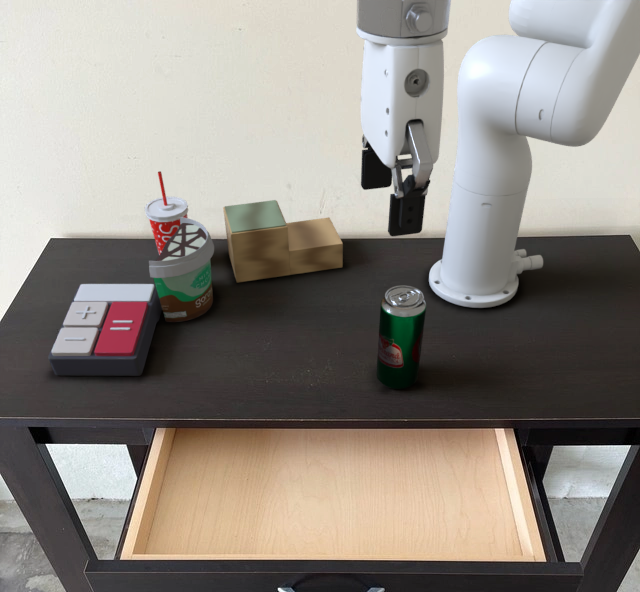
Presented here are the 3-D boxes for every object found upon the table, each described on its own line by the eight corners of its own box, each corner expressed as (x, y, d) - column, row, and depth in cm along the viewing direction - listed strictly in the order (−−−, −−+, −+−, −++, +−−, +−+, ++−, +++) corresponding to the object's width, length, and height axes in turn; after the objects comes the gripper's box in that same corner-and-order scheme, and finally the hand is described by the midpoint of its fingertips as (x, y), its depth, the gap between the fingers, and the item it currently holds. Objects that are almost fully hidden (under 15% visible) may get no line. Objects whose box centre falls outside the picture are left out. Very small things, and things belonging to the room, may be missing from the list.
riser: (329, 240, 104) (329, 192, 98) (342, 267, 98) (343, 217, 93) (229, 254, 101) (222, 205, 96) (236, 282, 96) (230, 232, 90)
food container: (205, 333, 88) (194, 268, 80) (161, 328, 89) (146, 263, 81) (232, 282, 96) (224, 218, 89) (192, 277, 97) (181, 215, 90)
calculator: (44, 354, 79) (77, 279, 89) (55, 379, 82) (86, 304, 92) (135, 354, 79) (157, 279, 89) (142, 379, 82) (163, 304, 92)
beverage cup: (150, 270, 99) (129, 180, 89) (165, 249, 103) (147, 160, 93) (188, 274, 98) (172, 184, 88) (202, 253, 102) (188, 164, 92)
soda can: (367, 375, 81) (371, 294, 73) (398, 359, 83) (405, 278, 75) (395, 397, 78) (402, 315, 70) (426, 380, 80) (437, 298, 72)
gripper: (488, 39, 48) (456, 248, 60) (413, -16, 60) (399, 168, 72) (389, 48, 47) (377, 259, 59) (333, -11, 59) (333, 175, 71)
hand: (389, 209), depth 66 cm, fingers open, 9 cm apart
